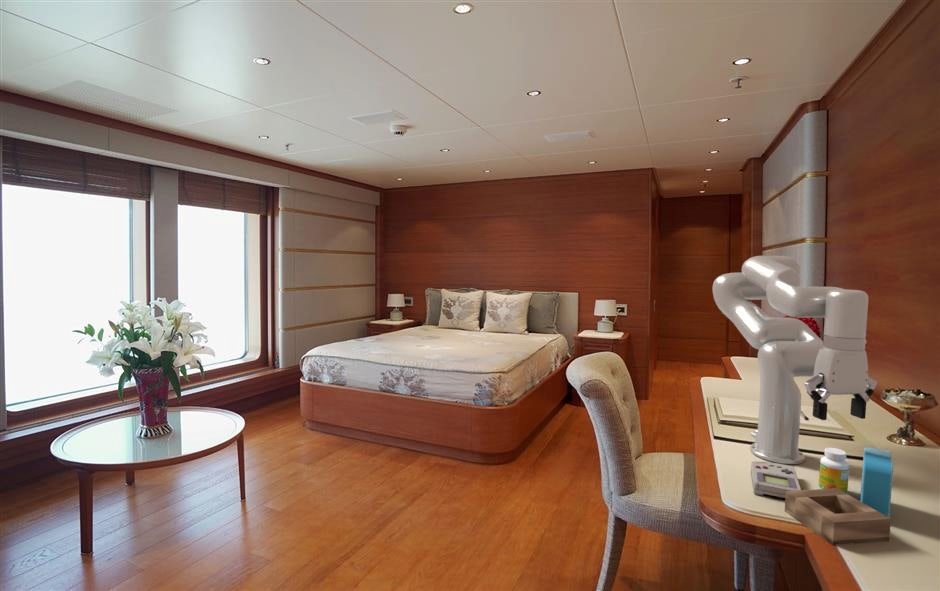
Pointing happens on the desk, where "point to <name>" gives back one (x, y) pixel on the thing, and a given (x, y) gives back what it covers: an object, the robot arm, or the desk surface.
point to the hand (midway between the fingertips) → (838, 417)
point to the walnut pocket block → (837, 516)
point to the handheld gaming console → (773, 479)
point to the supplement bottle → (834, 470)
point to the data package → (877, 480)
